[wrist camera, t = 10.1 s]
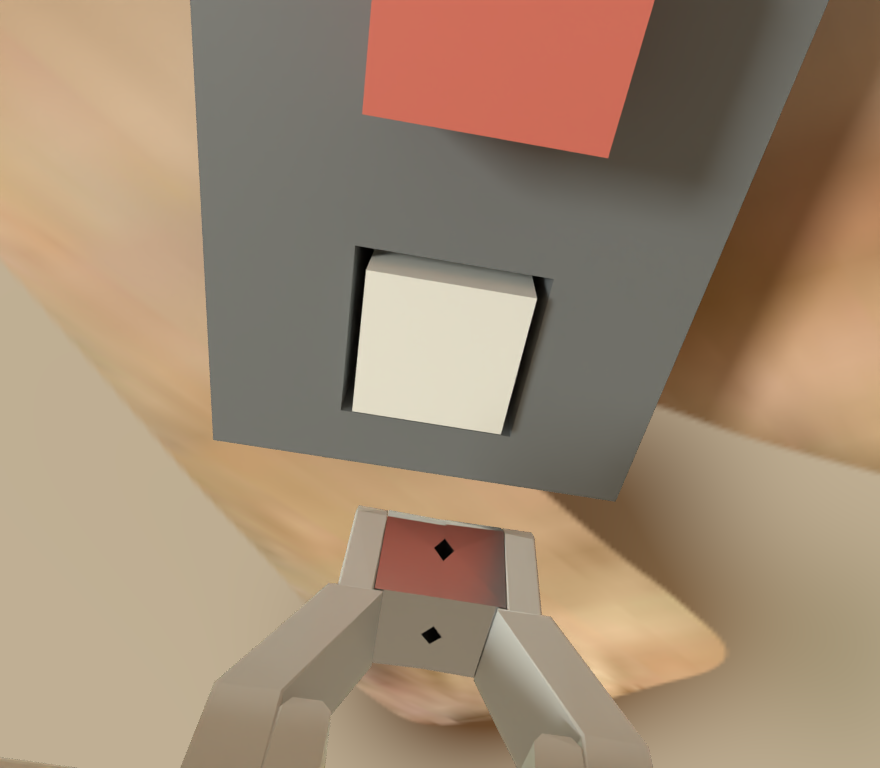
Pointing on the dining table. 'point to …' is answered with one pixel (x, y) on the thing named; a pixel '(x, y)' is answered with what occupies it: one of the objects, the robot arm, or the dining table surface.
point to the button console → (469, 231)
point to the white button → (440, 340)
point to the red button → (506, 67)
